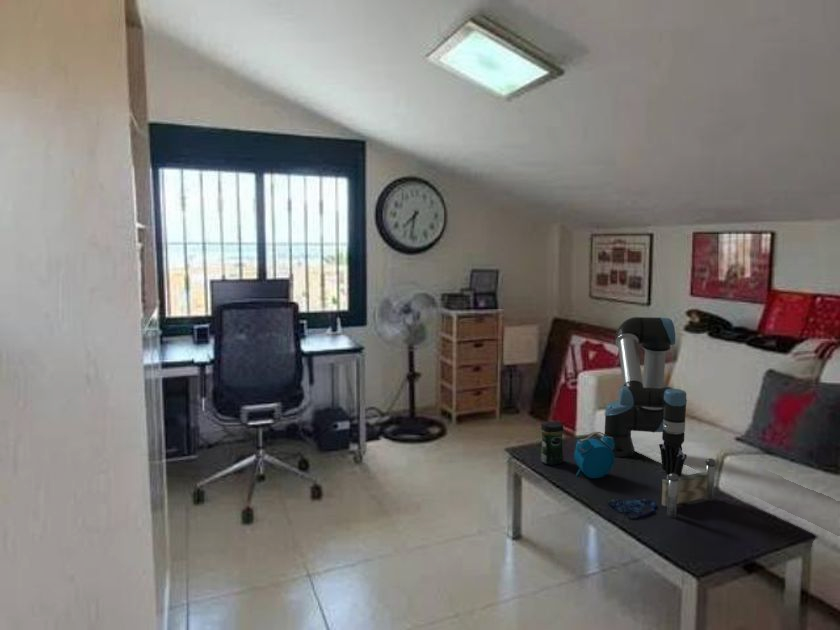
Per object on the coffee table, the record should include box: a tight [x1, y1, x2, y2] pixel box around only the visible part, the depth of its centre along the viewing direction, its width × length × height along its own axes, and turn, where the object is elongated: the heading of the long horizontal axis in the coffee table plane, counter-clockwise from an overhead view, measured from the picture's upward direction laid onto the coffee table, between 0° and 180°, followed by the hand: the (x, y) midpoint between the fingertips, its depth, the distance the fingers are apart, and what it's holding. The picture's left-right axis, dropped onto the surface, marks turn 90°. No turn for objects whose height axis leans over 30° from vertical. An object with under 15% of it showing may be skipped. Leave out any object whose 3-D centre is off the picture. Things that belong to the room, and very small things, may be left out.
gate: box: [661, 471, 708, 507], centre depth 213 cm, size 20×3×9 cm, turn 111°
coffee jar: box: [539, 420, 564, 466], centre depth 255 cm, size 10×8×19 cm
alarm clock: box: [573, 431, 615, 479], centre depth 239 cm, size 17×10×20 cm, turn 105°
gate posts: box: [666, 458, 717, 519], centre depth 211 cm, size 27×3×16 cm, turn 124°
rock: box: [606, 498, 656, 520], centre depth 211 cm, size 15×17×2 cm
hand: (670, 491), depth 217 cm, fingers closed
